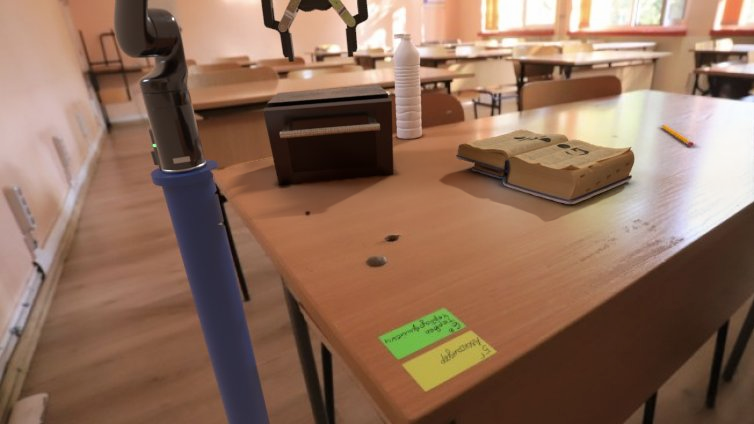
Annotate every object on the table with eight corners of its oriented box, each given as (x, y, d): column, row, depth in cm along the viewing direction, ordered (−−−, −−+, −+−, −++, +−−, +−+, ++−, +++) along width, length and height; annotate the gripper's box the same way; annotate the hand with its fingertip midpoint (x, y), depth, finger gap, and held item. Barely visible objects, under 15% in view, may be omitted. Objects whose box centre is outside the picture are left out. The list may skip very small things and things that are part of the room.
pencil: (688, 146, 84) (689, 142, 84) (659, 126, 101) (660, 123, 101) (693, 146, 84) (693, 142, 84) (663, 126, 101) (664, 123, 101)
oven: (392, 171, 82) (388, 93, 76) (279, 182, 80) (267, 103, 75) (383, 151, 97) (379, 84, 91) (288, 160, 95) (278, 92, 89)
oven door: (396, 185, 77) (395, 109, 68) (276, 196, 75) (260, 120, 67) (392, 170, 81) (390, 97, 73) (279, 180, 80) (264, 107, 72)
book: (632, 181, 68) (639, 145, 66) (570, 206, 60) (574, 167, 58) (512, 153, 88) (514, 125, 86) (453, 170, 80) (453, 139, 78)
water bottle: (402, 133, 114) (398, 34, 104) (425, 134, 111) (423, 32, 101) (390, 140, 106) (384, 35, 97) (414, 141, 104) (410, 33, 94)
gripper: (360, -74, 56) (369, 54, 63) (254, -68, 56) (274, 62, 62) (363, -90, 49) (373, 56, 56) (242, -83, 49) (266, 64, 55)
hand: (321, 59), depth 59 cm, fingers open, 8 cm apart
